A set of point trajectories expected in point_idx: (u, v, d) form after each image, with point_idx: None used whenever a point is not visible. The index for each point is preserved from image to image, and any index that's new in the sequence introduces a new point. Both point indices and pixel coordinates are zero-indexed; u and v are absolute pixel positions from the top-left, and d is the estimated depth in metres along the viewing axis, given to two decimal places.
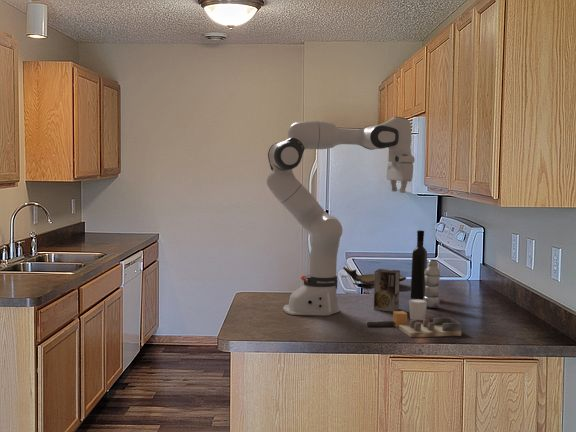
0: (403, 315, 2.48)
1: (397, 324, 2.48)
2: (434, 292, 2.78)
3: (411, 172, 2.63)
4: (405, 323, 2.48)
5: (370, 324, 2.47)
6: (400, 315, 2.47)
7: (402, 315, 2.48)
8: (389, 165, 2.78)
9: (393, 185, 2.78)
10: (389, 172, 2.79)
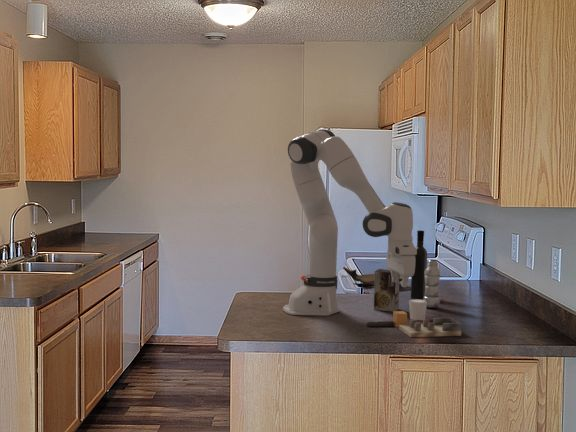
0: (403, 315, 2.48)
1: (397, 324, 2.48)
2: (434, 292, 2.78)
3: (413, 266, 2.38)
4: (405, 323, 2.48)
5: (370, 324, 2.47)
6: (400, 315, 2.47)
7: (402, 315, 2.48)
8: (389, 253, 2.53)
9: (393, 275, 2.53)
10: (388, 261, 2.54)
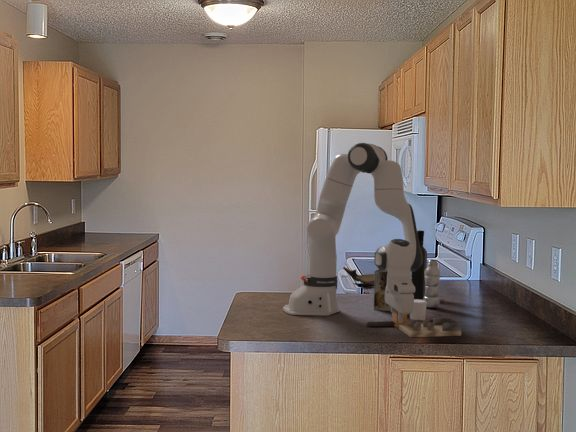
0: None
1: (397, 324, 2.48)
2: (434, 292, 2.78)
3: (411, 304, 2.39)
4: (405, 323, 2.48)
5: (370, 324, 2.47)
6: None
7: None
8: (387, 289, 2.54)
9: None
10: (387, 296, 2.55)
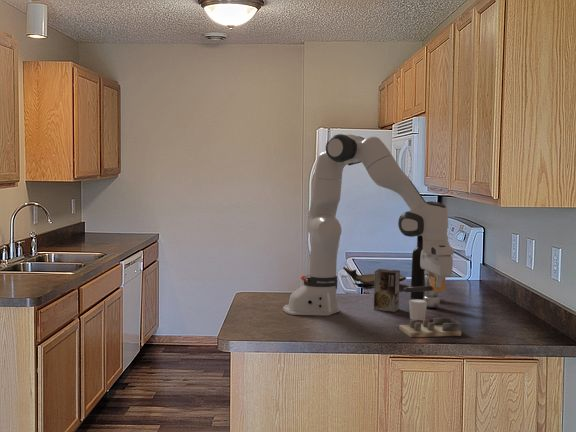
0: None
1: (435, 288, 2.41)
2: (434, 292, 2.78)
3: (450, 267, 2.32)
4: (443, 288, 2.41)
5: (408, 289, 2.40)
6: None
7: None
8: (423, 253, 2.47)
9: None
10: (423, 261, 2.48)
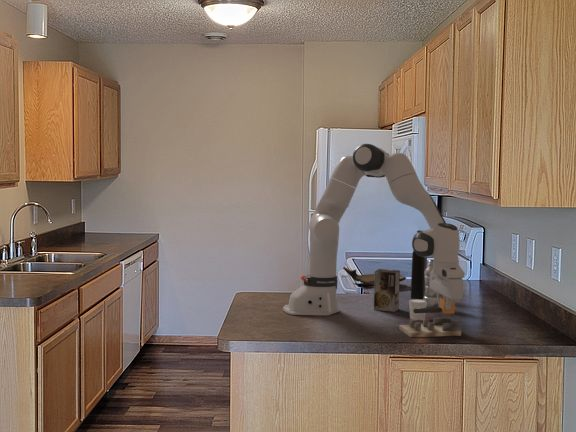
0: None
1: (445, 310, 2.40)
2: (434, 292, 2.78)
3: (461, 290, 2.32)
4: (452, 310, 2.41)
5: (417, 311, 2.39)
6: None
7: None
8: (433, 274, 2.47)
9: None
10: (433, 282, 2.47)
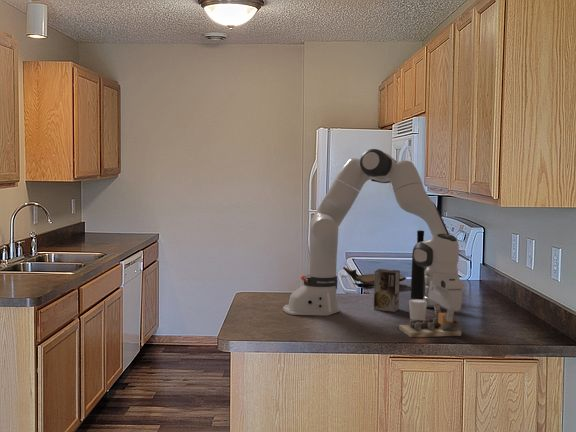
0: None
1: None
2: None
3: (460, 301, 2.32)
4: None
5: None
6: None
7: None
8: (432, 285, 2.47)
9: (436, 308, 2.47)
10: (432, 293, 2.47)
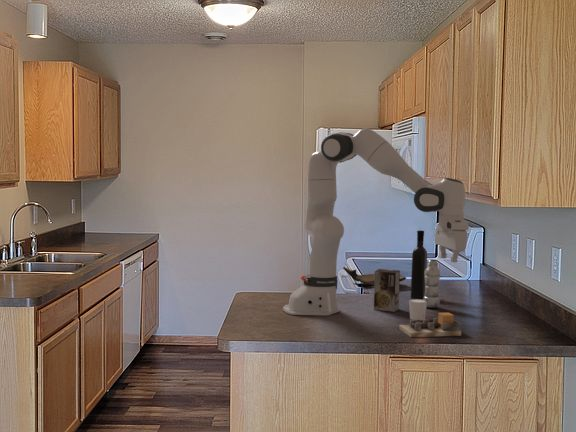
0: (449, 317, 2.40)
1: None
2: (434, 292, 2.78)
3: (465, 241, 2.38)
4: None
5: None
6: (446, 317, 2.40)
7: (448, 317, 2.40)
8: (438, 229, 2.54)
9: (442, 251, 2.53)
10: (438, 237, 2.54)
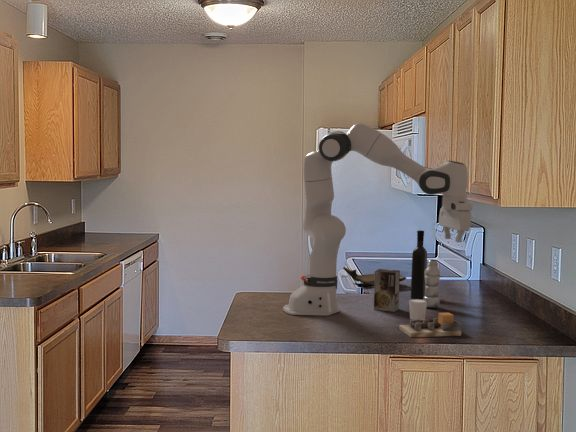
0: (449, 317, 2.40)
1: None
2: (434, 292, 2.78)
3: (469, 221, 2.46)
4: None
5: None
6: (446, 317, 2.40)
7: (448, 317, 2.40)
8: (442, 211, 2.61)
9: (446, 232, 2.61)
10: (442, 218, 2.62)
